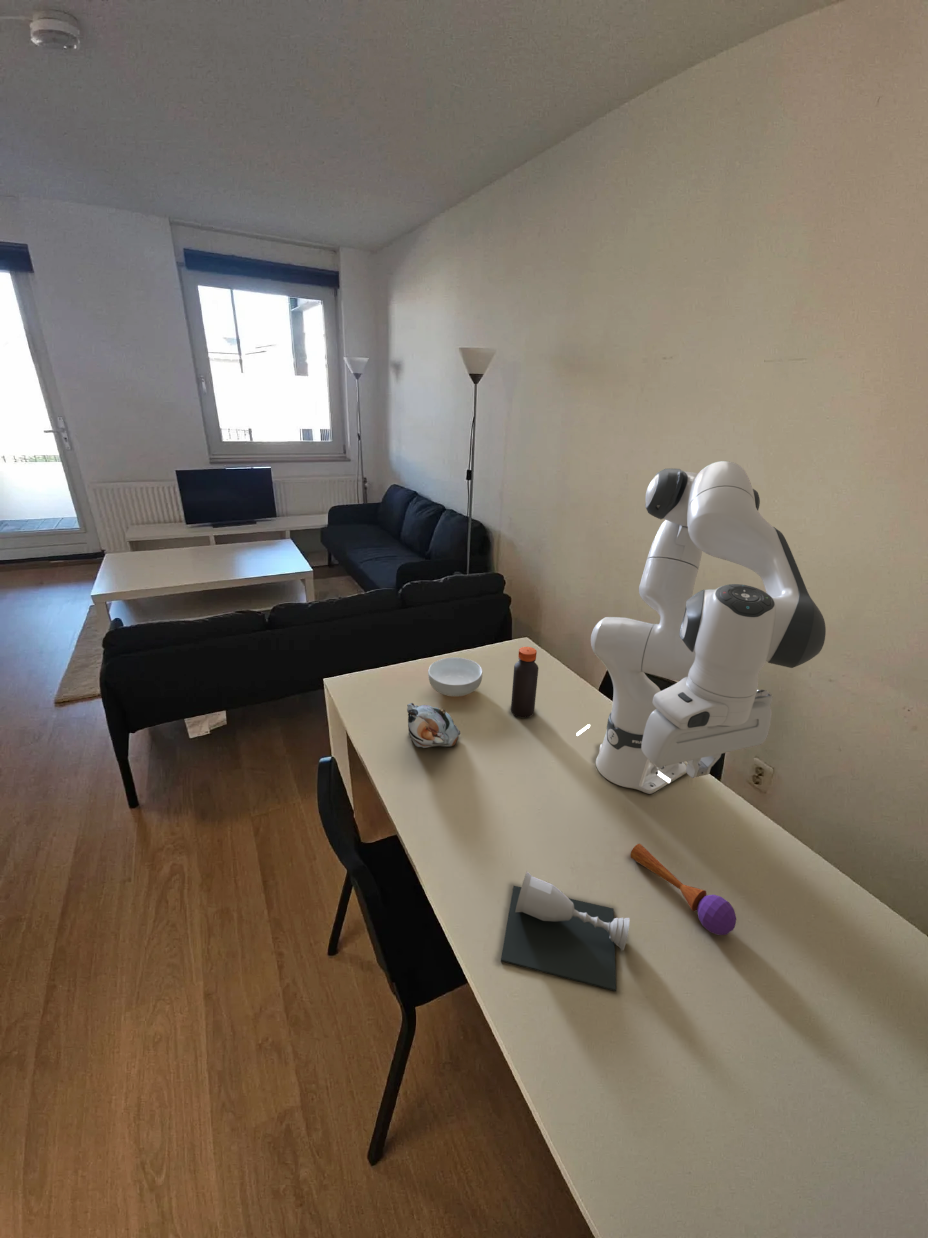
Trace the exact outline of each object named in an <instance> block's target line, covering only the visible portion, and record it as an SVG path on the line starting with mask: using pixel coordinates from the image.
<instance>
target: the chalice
mask: <svg viewBox="0 0 928 1238" xmlns="http://www.w3.org/2000/svg"><path fill="white" fill-rule="evenodd" d="M520 887H521V891H520V894H519V898H518V902H517V906H516V911H515V913H516V912H524V913H526V914H528V915H531V916H533V917H536V918H538V919H540V920H543V921H554V922H556V921H568V920H570V919H571V918H572V917H573V916H574V917H578V918H580V919H581V920H583V922H590V923H592V924H593V925H594V927H595V928H596V927H603V928H604V929H606V930H607V932H609V935H610V939H611V940H612V942H614V943H615V946H617V947H619V949H620V950H621V951H624V950H625V948H626V944H627V941H628V935H629V930H630V917H614V919H613V921H612V922H611V923H610V922H609V923H606V922H603V921H601V920H600V919H599V918H598V916H597V917H591V916H589V915H588V914H587V913H582V912H578V911H577V910H575V909H574V904H573V902H572V901H571V900H570V899H571V898H570V897H568V896H567V895H566V894H565V893H564V892H563V891H561V890H560V889H559V888H558V887H557V886H556V885H554V884H553V883H550V882H548V881H545V880H543V879H540V878H537V877H535V876H534V875H532V874H531V873H530V872H529V871H528V870H526V872H525V875H524V878H523V881H522V885H521V886H520ZM569 898H570V899H569Z"/></svg>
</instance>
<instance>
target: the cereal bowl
mask: <svg viewBox="0 0 928 1238" xmlns="http://www.w3.org/2000/svg"><path fill="white" fill-rule="evenodd" d="M427 670H428V672H427V676H428V681H429V684H430V686H431V688H433V689H434V690H435V691H436V692H437V693H439V694H441V695H444V696H447V697H464V696H466V695H469V694H472V693H474V692H475V691H476V690H477V689H478V688H479V687H480V686H481V683H482V680H483V668H482V667H481V665H480V664H479V663H478V662H476V661H475V660H472V659H470V658H465V657H459V656H458V657H456V656H454V657H453V656H452V657H444V658H441V659H438V660H436V661H434V662H432V663H431V664H430V665H429V667H428V669H427Z"/></svg>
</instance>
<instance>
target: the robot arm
mask: <svg viewBox="0 0 928 1238" xmlns="http://www.w3.org/2000/svg"><path fill="white" fill-rule="evenodd" d="M760 505H761V499H760V495H759V492H758V491H757V490H756V489H754V488H753V485H752V482H751V479H750V477H749V475H748V473H747V471H746V470H745V469H744V467H742V466H741V465H740V464H738V463H736V462H733V461H728V460H722V461H721V460H720V461H715V462H712V463H710V464H707V465H706V466H705V467H703V468H702V469H701V470H699V472H693V471H687V470H686V471H685V470H682V469H680V468H663V469H662V470H659V471H657V472H656V474H655V476H654V477H653V478H652V479H651V481H650V482H649V484H648V486H647V488H646V492H645V505H644V506H645V509H646V512H647V513H648V515H651V516H652V517H654V518H656V519H657V520H664V521H663V522H662V523H660V526H659V528H658V530H657V532H656V534H655V537H654V538H653V540H652V542H651V545H650V548H649V551H648V555H647V557H646V561H645V565H644V567H643V572H642V575H641V579H640V583H639V586H638V593H639V597H640V598H641V600H642V601H643V602H644V603H645V604H646V606H648V607H650V608H651V609H652V610H654V611H655V612H656V613H657V614H658V615H659V617H660V618H659V623H652V622H651V623H650V622H646V621H641V620H638V619H634V618H629V617H622V616H621V617H619V616H605V617H603V618H601V619H600V620H599V621H598V622H597V623H596V624H595V626H594V627H593V629H592V632H591V635H590V646H591V649H592V652H593V654H594V655H595V657H597V658H598V660H599V661H601V663H602V664H603V665H604V667H605V668H606V670H607V672H608V675H609V676H610V679H611V683H612V687H613V695H612V696H613V697H612V706H611V711H610V713H609V715H608V718H607V723H606V731H605V735H604V736H603V737H604V738H603V742H602V743H600V745H599V752H598V755H597V757H596V759H595V767H596V769H597V770H598V771H597V772H599V774H600V775H601V776H602V777H603V778H605V779H606V780H608V781H609V782H611V783H613V784H615V785H617V786H620V787H623V788H628V789H632V790H633V789H634V790H637V791H640V792H643V793H644V794H649V795H653V794H654V793H656V792H657V791H659V790H661V789H662V788H664V787H666V786H668V785H670V784H671V783H672V782H674V781H676V780H677V779H679V778H681V777H683V776H684V775H686V774H687V775H688V776H689V777H690V778H691V779H695V778H698V777H703V776H708V775H710V772H711V769H712V767H714V765H715V764H716V763H717V762H718V761H719V760H720V759H721V757H722V754H726V753H731V752H735V751H740V750H744V749H745V750H746V749H749V748H754V747H758V746H761V745H763V744H764V742H766V740H767V738H768V735H769V731H770V727H771V722H772V716H773V715H772V714H773V713H772V711H773V710H772V708H771V706H772V704H773V700H774V698H773V697H774V696H773V695H772V693H771V692H770V691H768V690H767V689H765V688H760V689H759V675H760V673H761V671H762V669H764V666H765V665H766V664H767V663H768V664H771V665H775V666H780V667H785V668H789V669H793V668H796V667H799V666H801V665H803V664H805V663H807V662H810V660H813V658H815V657H816V656H817V655H819V654H820V653H821V651H822V649H823V647H824V644H825V641H826V635H827V634H826V631H827V629H826V622H825V618H824V615H823V613H822V611H821V610H820V608H819V607H818V606H817V604H816V603H815V602H814V600H813V598H812V597H811V595H810V594H809V592H808V590H807V586H806V584H805V581H804V580H803V576H802V574H801V572H800V569H799V567H798V564H797V562H796V559H795V557H794V555H793V552H792V550H791V548H790V546H789V543H788V541H787V539H786V537H785V536H784V534H783V532H781V530H779V529H777V528H776V527H775V526H772V525H771V524H770V523H769V522H768V521H767V520H766V519H765V517H763V516H762V514H761V513H760V512H759V509H760ZM703 553H705V554H707V555H708V556H711V557H713V558H717V559H719V560H720V559H721V560H723V561H728V562H730V563H734V564H736V565H739V566H741V567H744V568H746V569H749V570H750V571H752V572H754V573H755V574H756V575H758V576H759V578H760V579H761V580H762V581H761V582H762V584H763V586H764V590H765V591H764V590H762V589H760V588H758V587H755V586H751V585H747V584H742V583H741V584H739V583H730V584H725V585H721V586H719V587H717V588H715V589H713V588H711V589H701V590H700V591H698V592H696V593H695V594H694V589H695V585H696V580H697V577H698V572H699V569H700V565H701V562H702V561H701V560H702V555H703ZM647 674H649V675H652V676H656V677H659V678H664V679H667V680H670V681H677V682H676V683H674V684H672V685H670V686H669V687H667V688H664V689H662V690H661V689H660V687H659V686H658V685H657V684H656V683H654V682H653V681H652V679H650V678H649V677H648V676H647ZM590 727H591V724H590V723H589V724H587V725H585V726H584V727H583V728H581V729H580V730H579V731H577V732H576V736H577V737H578V736H580V735H581V734H582V733H584V732H585V731H586V730H587V729H589V728H590ZM685 762H686V763H687V764H686V763H685Z"/></svg>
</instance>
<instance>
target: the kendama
mask: <svg viewBox="0 0 928 1238" xmlns="http://www.w3.org/2000/svg"><path fill="white" fill-rule="evenodd" d="M629 856H630V858H631V859H632V860H633V861H635V862H636V863H638V864H640V865H641V866H643V867H644V868H646V869H647V870H649V871H650V872H652V873H653V874H655V875H656V876H658V877H660V878H661V879H663V880H664V881H666V882H668V883H670V885H672V886H673V887H675V888H677V889H678V890H679V891H680V893H681V895H682V896H683V898H684V899H685V901H686V903H687V904H688V906H689V908H690V911H692V912H697V915H698V916H697V917H698V920H699V922H700V924H701V925H702V927H704V928H705V930H707V931H708V932H709V933H712V934H714V935H717V936H725V935H728V934H730V933H731V932H732V931H733V930H734V929H735V927H736V923H737V915H736V911H735V908H734V907H733V905H732V904H731V903H730V902H729V901H728V900H726V899H725V897H722V896H720V895H716V894H707V891H706V889H702V888H697V887H695V886H691V885H687V884H683V883H682V881H681V880H680V879H678V878H677V877H676V876H675V875H674V874H673V873H672V872H671V871H670V870H669V869H668V868H667V867H666V866H665V865H663V864H662V863H661V861H659V860H658V859H657V858H656V857H655V856H654V855H653V854H652V853H651V852H650V851H649V850H648V849H647V848H645V847H644V845H643V844H641V843H637V844H635V845H634V846H633V848H632V849H631V851H630V855H629Z"/></svg>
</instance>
